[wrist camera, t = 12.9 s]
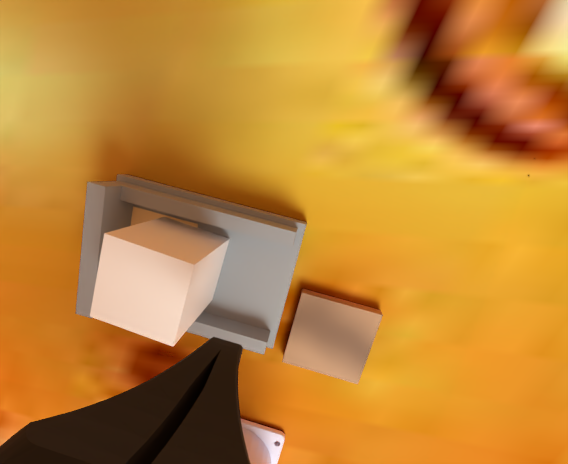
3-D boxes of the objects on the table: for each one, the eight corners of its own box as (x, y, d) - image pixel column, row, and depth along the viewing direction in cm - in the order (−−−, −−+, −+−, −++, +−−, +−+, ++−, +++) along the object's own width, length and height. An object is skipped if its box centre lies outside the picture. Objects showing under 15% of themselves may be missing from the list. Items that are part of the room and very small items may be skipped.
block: (229, 238, 20) (194, 264, 14) (212, 299, 21) (173, 346, 15) (164, 216, 20) (104, 233, 15) (151, 277, 22) (89, 316, 16)
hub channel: (274, 341, 23) (265, 376, 19) (111, 293, 23) (71, 317, 19) (306, 222, 20) (304, 233, 16) (126, 174, 21) (83, 174, 17)
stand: (356, 376, 22) (357, 384, 22) (283, 355, 23) (282, 361, 22) (380, 310, 21) (382, 315, 20) (302, 288, 21) (301, 292, 21)
